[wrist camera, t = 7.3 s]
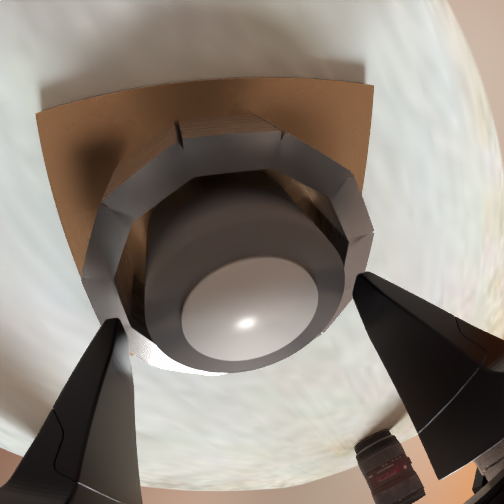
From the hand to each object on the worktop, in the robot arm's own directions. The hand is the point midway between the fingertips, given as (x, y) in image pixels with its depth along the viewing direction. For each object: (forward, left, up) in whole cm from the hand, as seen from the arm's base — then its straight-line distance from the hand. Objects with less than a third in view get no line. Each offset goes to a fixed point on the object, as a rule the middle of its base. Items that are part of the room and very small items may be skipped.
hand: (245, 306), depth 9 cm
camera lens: (+22, -44, -4) cm, 49 cm away
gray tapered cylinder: (0, 0, -4) cm, 4 cm away
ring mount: (0, 0, -4) cm, 4 cm away
